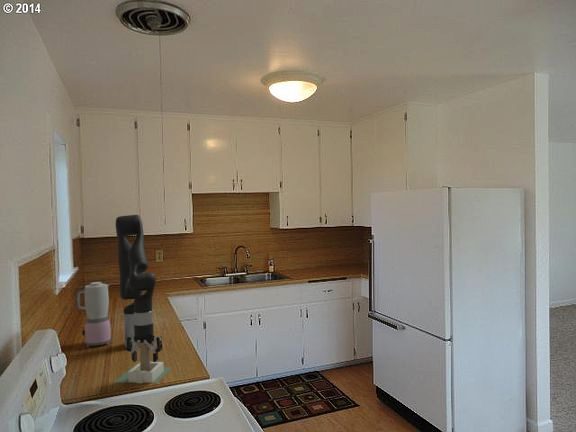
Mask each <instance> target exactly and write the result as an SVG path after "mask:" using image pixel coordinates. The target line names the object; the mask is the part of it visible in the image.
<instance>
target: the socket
mask: <svg viewBox="0 0 576 432" xmlns="http://www.w3.org/2000/svg"><path fill="white" fill-rule="evenodd" d="M150 363H151V367H150V371H141V369H140V362H139V363H137V364H136V365H135V366H134V368H133V369H131V368H130V369H131V370H130V371H129V372H128V380H129V382H136V383H135V384H144V383H143V382H150V383H149V384H154V383H153V382H154V381H155V380H156V379H157V378H158V377H159V376H160V375H161V374H162V373H163V372H164V367H165V365H164V361H156V362H153V361H150Z"/></svg>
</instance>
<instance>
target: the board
mask: <svg viewBox="0 0 576 432" xmlns="http://www.w3.org/2000/svg"><path fill="white" fill-rule="evenodd" d="M134 367H135V366H132V367H131V368H130V369H128V370H127V371H126V372H125V373H123V374H122V375H120V376H119V377H118V378H117V379H115V381H114V382H113V383H130V384H131V383H132V384H133V383H134V384H137V383H136V382H129V380H128V372H129V371H130V370H131V369H133V368H134ZM172 369H173V367H172V366H169V367H167V366H164V372H163V373H162V374H161V375H160V376H159V377H158V378H157V379H156V380H155V381H154V382H153V383H152V384H158V383H159V382H160V380H162V379H163V378H164V377H165V376H166V375H167V374H168V373H169V372H170V371H171V370H172ZM142 384H151V383H150V382H143V383H142Z"/></svg>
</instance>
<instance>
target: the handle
mask: <svg viewBox="0 0 576 432" xmlns="http://www.w3.org/2000/svg"><path fill="white" fill-rule="evenodd" d="M153 342H154V341H153ZM153 342H152V343H151V346H152V344H153ZM136 345H137V346H138V348H140V359H139V363H140V369H141V371H150V367H151V363H150V362H151V355H150V354H151V353H150V349H149V348H148V347H147V345H146V343H144V342H140V343H137V342H136Z"/></svg>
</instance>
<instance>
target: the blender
mask: <svg viewBox="0 0 576 432" xmlns="http://www.w3.org/2000/svg"><path fill="white" fill-rule="evenodd" d="M109 286H110V284H108V283H102V282H101V281H94V282H90V284H87V285H85V286H84V289H79V290H78V291H76V294H75V296H76V298H75V300H76V301H75V302H76V308H77V309H78V310H79V311H80V310H83V311H85V313H86V318H87V320H86V322H85V325H84V329H83V330H82V336H84V337H85V340H84V341H85V345H86V347H87V348H90V347H93V346H100V345H101V346H102V345H106V346H109V345H110V344H111V341H112V337H111V336H112V335H111V332H112V331H111V321H110V320H109V318H108V317H109V316H108V314H109V313H108V312H109V304H110V303H109V302H110V301H109V298H110V297H109ZM81 294H84V306H83V305H81Z"/></svg>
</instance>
